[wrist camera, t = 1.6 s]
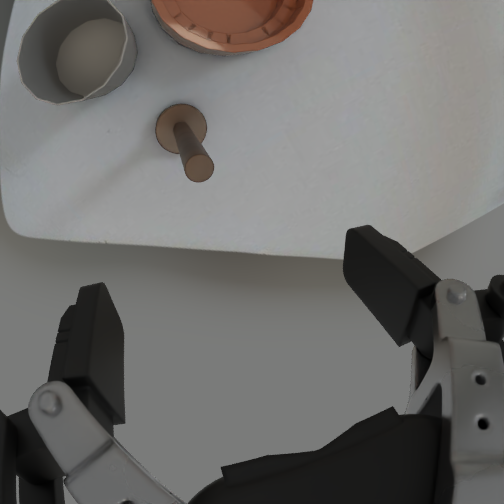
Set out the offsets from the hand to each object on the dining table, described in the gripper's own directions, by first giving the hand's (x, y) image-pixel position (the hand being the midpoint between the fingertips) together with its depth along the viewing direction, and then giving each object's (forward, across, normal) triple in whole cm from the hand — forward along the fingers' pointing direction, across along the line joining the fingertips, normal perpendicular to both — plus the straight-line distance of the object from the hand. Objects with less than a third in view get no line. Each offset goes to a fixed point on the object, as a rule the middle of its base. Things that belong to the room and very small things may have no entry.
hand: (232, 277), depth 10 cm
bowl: (+25, -6, -15) cm, 30 cm away
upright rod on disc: (+25, 0, -1) cm, 25 cm away
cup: (+25, +7, -10) cm, 28 cm away
